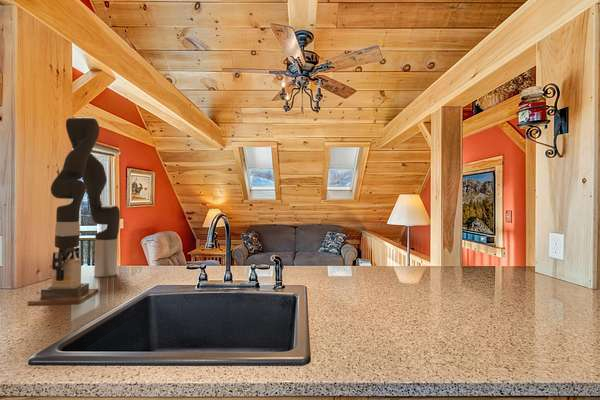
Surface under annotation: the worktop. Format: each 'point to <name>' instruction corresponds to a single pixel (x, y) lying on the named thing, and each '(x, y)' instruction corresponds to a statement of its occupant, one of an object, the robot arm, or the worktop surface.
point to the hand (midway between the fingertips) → (66, 277)
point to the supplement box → (69, 275)
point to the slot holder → (63, 295)
